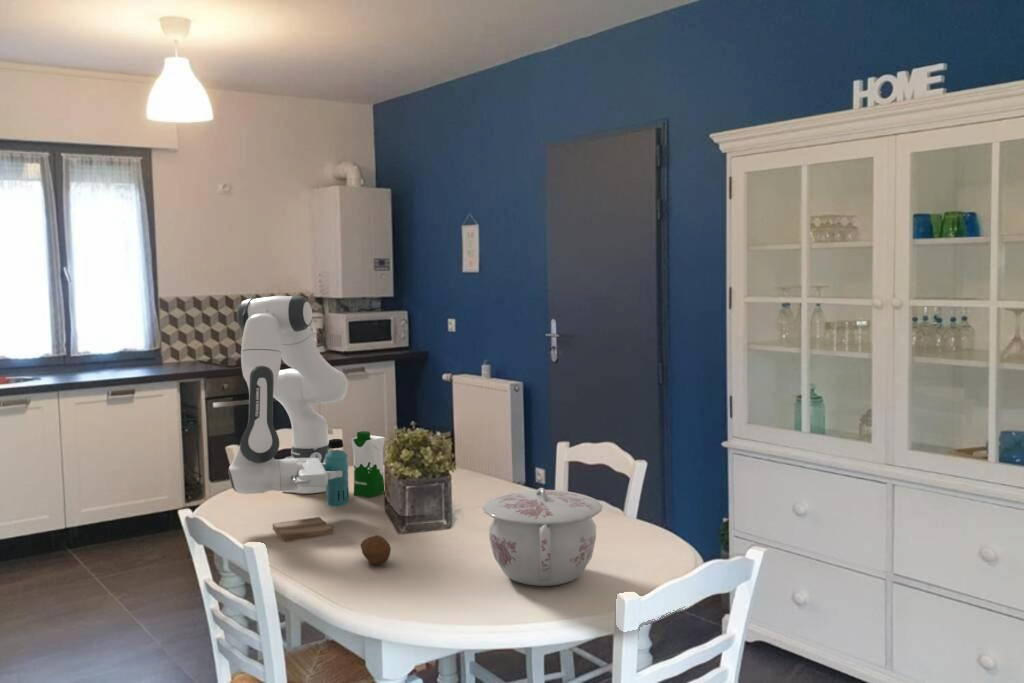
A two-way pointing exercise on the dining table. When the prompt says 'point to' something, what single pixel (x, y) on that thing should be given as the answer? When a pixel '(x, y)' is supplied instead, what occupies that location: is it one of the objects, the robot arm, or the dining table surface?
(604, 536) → the dining table surface
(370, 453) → the milk carton
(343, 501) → the beverage bottle
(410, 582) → the dining table surface
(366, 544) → the potato
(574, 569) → the chamber pot
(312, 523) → the trivet
